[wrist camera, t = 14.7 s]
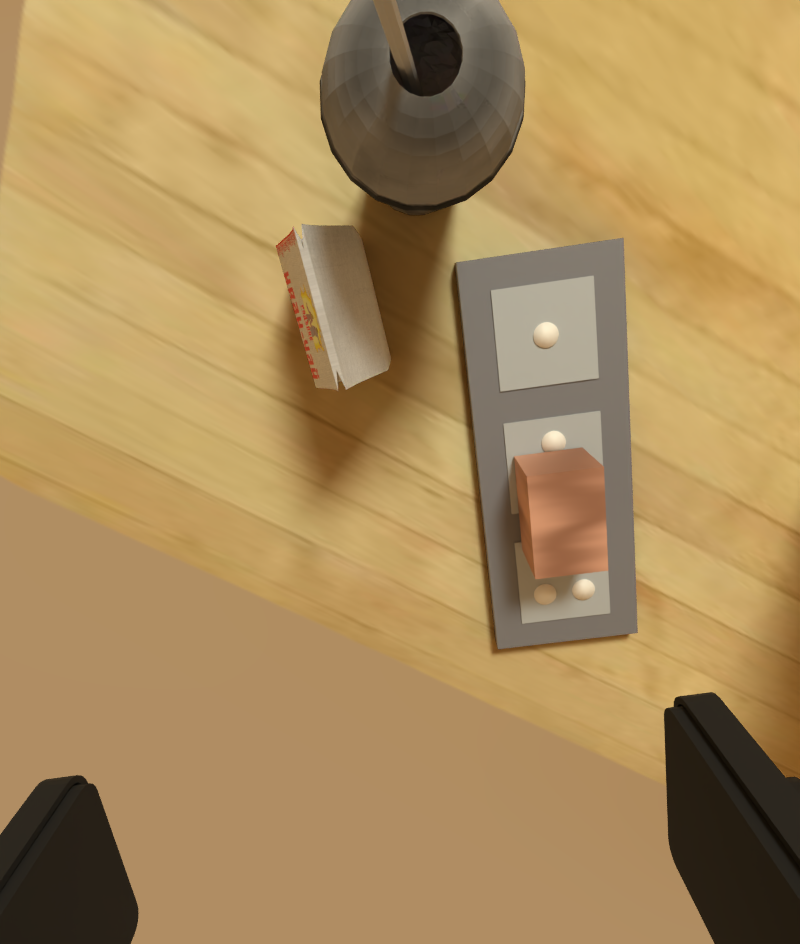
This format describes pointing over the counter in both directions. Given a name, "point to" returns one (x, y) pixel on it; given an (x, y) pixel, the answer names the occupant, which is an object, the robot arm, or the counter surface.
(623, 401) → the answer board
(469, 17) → the beverage cup
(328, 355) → the gable top carton
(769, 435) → the counter surface
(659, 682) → the counter surface
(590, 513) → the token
